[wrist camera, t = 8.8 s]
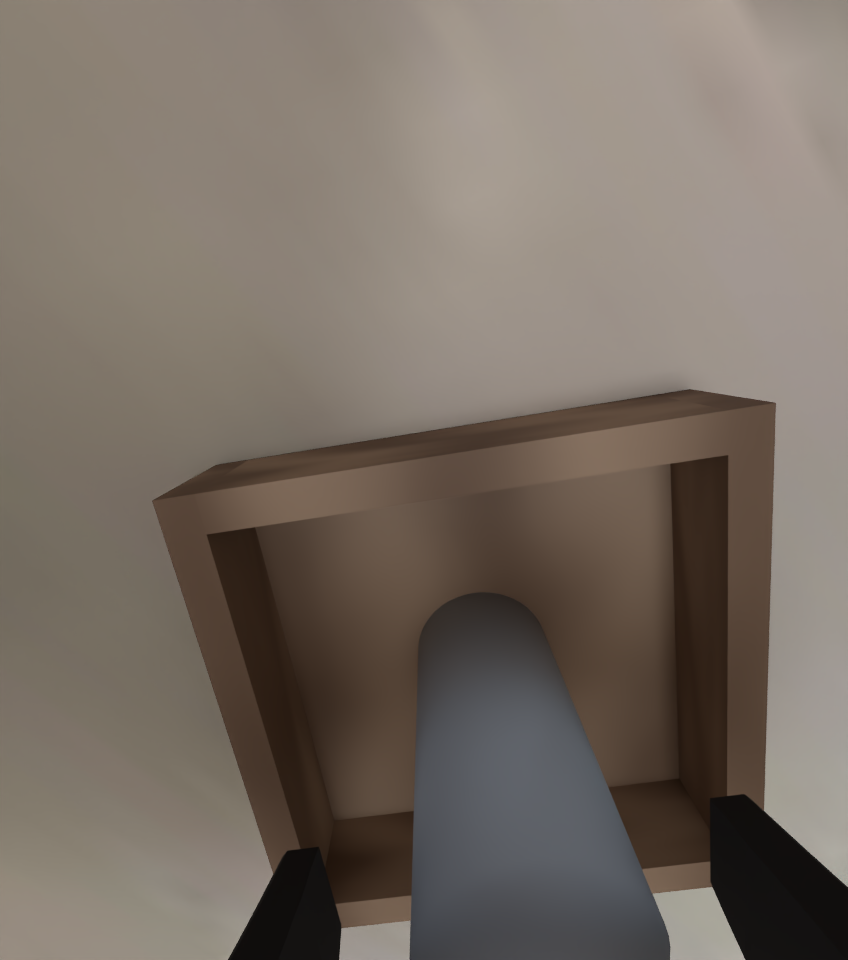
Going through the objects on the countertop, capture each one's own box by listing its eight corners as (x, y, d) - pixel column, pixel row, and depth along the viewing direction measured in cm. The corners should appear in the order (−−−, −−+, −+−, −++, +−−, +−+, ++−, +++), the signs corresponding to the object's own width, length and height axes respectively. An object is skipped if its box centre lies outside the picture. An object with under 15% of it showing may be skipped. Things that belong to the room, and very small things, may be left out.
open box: (317, 824, 18) (292, 933, 15) (216, 464, 14) (152, 500, 11) (696, 777, 17) (761, 881, 14) (690, 389, 14) (775, 402, 10)
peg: (429, 711, 16) (431, 1058, 8) (408, 602, 15) (387, 880, 7) (551, 694, 16) (674, 1033, 8) (538, 583, 15) (665, 848, 7)
